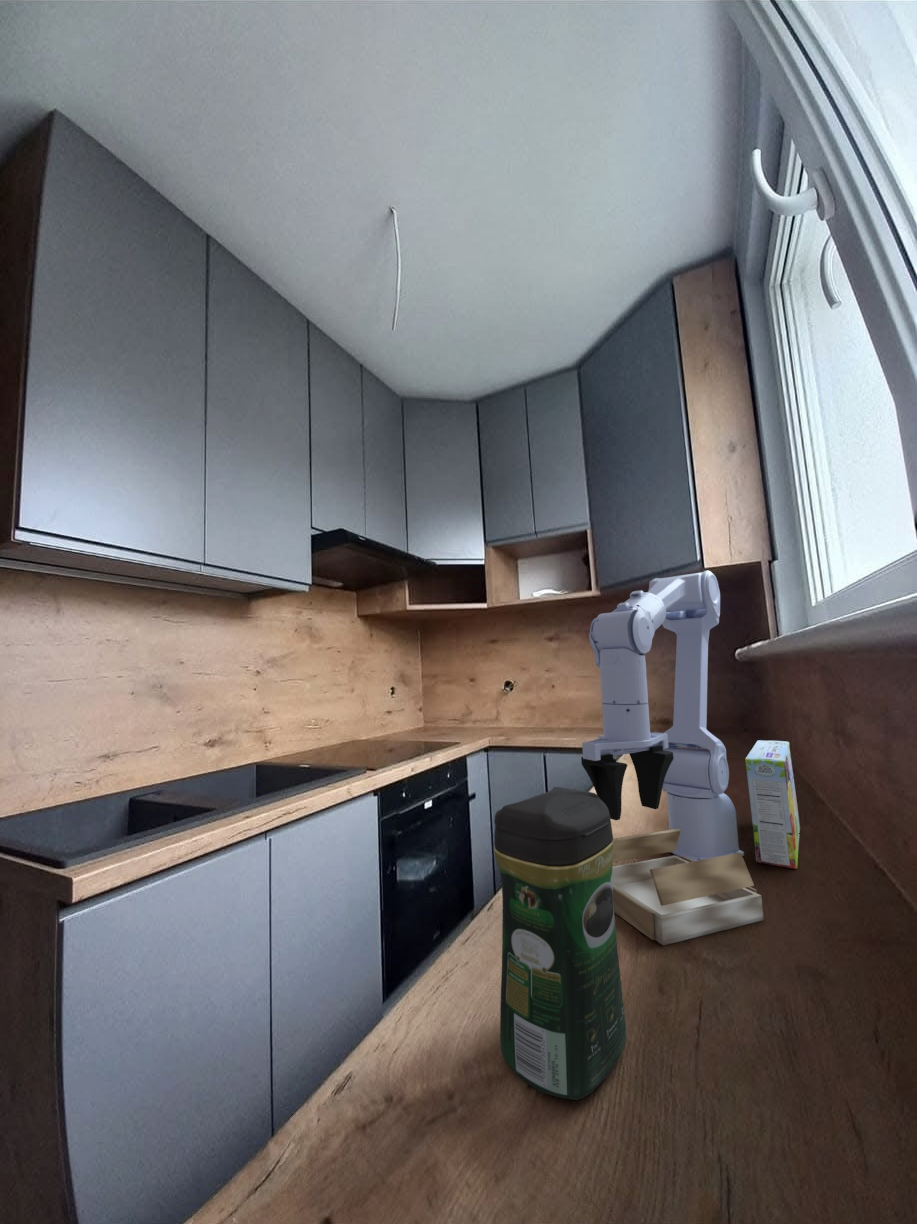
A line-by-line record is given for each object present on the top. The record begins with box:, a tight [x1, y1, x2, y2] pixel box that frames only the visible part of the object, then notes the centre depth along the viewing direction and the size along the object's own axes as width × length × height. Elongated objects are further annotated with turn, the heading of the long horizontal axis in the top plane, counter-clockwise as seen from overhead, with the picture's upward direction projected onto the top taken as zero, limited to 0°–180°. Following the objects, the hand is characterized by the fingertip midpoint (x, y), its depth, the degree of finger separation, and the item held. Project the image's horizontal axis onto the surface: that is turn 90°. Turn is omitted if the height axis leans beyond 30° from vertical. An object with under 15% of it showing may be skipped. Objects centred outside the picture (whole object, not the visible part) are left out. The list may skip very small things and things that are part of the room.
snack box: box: [744, 739, 801, 870], centre depth 78 cm, size 21×6×15 cm, turn 144°
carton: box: [612, 855, 764, 946], centre depth 58 cm, size 15×13×3 cm
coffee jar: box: [493, 786, 627, 1101], centre depth 37 cm, size 10×8×19 cm
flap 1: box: [613, 828, 681, 863], centre depth 64 cm, size 13×1×3 cm, turn 109°
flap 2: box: [650, 853, 755, 906], centre depth 54 cm, size 13×1×3 cm, turn 109°
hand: (631, 812), depth 61 cm, fingers open, 7 cm apart
